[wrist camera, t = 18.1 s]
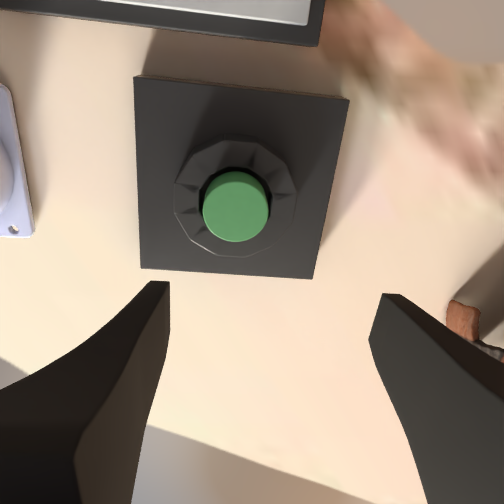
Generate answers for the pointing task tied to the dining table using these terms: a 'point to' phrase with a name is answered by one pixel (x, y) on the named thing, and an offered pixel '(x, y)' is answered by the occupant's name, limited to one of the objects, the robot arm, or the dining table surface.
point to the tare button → (235, 206)
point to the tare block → (233, 159)
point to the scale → (196, 16)
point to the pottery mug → (469, 327)
